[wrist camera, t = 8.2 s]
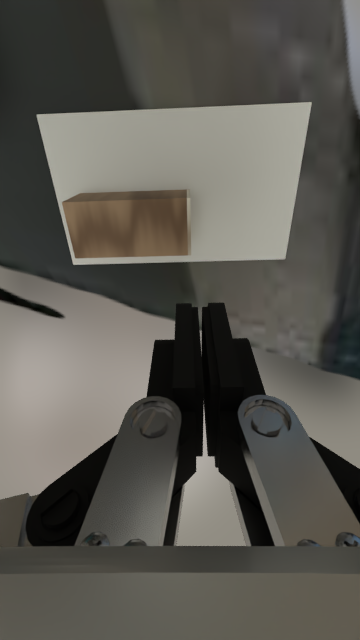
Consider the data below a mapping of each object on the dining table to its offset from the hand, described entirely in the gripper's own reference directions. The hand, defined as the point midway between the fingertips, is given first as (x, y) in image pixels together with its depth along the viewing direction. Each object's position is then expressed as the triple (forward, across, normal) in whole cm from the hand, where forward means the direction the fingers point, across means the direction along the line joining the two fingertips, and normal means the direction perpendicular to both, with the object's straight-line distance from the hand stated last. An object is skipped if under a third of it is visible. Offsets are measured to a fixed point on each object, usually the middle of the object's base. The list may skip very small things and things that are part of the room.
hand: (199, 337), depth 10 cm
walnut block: (+20, 0, +1) cm, 20 cm away
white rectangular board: (+23, +1, -1) cm, 23 cm away
